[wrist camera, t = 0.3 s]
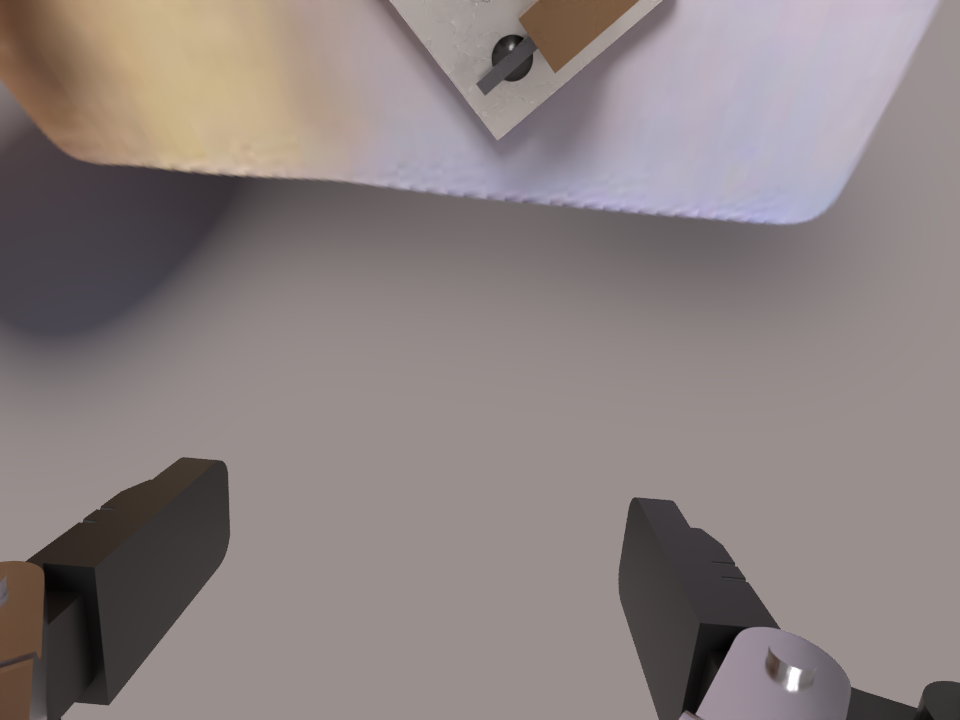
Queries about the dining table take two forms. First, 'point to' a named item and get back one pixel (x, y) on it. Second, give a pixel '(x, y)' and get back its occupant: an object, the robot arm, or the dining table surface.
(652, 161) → the dining table surface
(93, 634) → the robot arm
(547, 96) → the plate
